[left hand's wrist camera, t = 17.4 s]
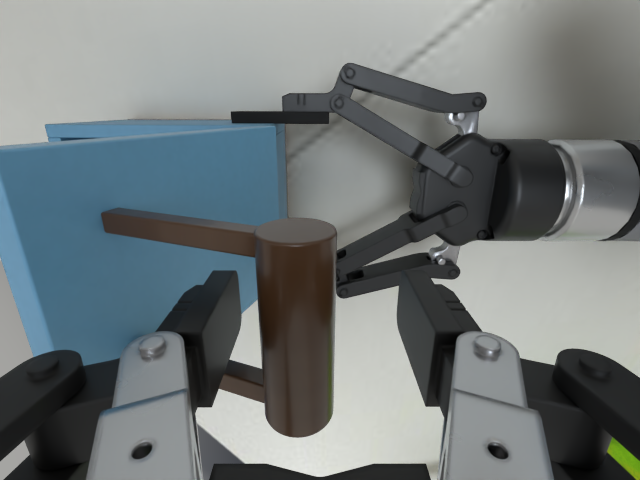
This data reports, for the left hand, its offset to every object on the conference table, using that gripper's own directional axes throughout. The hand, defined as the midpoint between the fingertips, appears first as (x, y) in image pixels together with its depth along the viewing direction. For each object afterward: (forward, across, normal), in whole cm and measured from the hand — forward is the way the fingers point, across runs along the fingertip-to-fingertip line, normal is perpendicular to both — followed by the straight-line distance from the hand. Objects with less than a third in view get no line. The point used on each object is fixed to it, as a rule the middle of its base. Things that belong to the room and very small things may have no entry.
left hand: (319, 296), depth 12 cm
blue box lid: (+5, -6, 0) cm, 8 cm away
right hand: (+16, -6, 0) cm, 17 cm away
